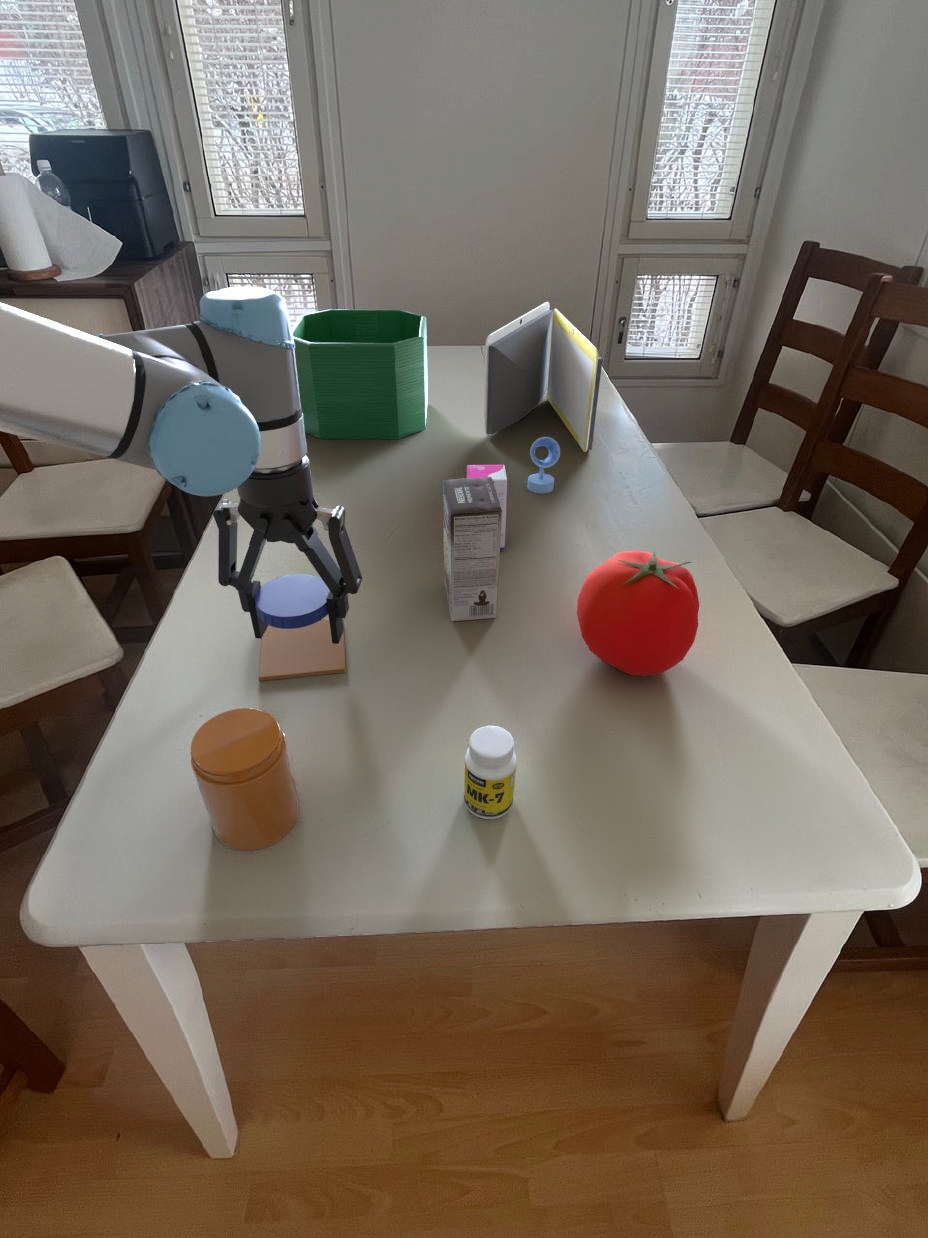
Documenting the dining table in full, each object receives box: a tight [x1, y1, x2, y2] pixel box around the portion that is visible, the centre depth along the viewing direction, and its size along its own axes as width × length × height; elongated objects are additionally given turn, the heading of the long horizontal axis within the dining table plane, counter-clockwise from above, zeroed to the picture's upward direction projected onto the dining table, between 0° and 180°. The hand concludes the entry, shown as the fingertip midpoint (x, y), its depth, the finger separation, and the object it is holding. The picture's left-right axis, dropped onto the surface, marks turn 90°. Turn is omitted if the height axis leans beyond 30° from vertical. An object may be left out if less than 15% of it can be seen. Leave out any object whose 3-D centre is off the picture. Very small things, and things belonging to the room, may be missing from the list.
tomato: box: [576, 549, 700, 677], centre depth 81 cm, size 16×14×14 cm
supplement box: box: [466, 464, 508, 552], centre depth 102 cm, size 6×6×12 cm
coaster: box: [257, 618, 347, 682], centre depth 85 cm, size 10×10×1 cm
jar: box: [190, 707, 301, 852], centre depth 62 cm, size 8×8×10 cm
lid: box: [255, 573, 330, 629], centre depth 80 cm, size 9×9×2 cm
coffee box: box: [442, 477, 502, 622], centre depth 88 cm, size 9×6×16 cm
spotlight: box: [526, 436, 561, 494], centre depth 117 cm, size 5×10×7 cm
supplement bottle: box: [463, 725, 517, 820], centre depth 64 cm, size 5×5×8 cm
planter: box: [291, 309, 429, 440], centre depth 141 cm, size 26×26×18 cm
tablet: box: [483, 301, 603, 453], centre depth 139 cm, size 35×22×20 cm, turn 10°
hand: (300, 633), depth 83 cm, fingers closed on lid, 9 cm apart
